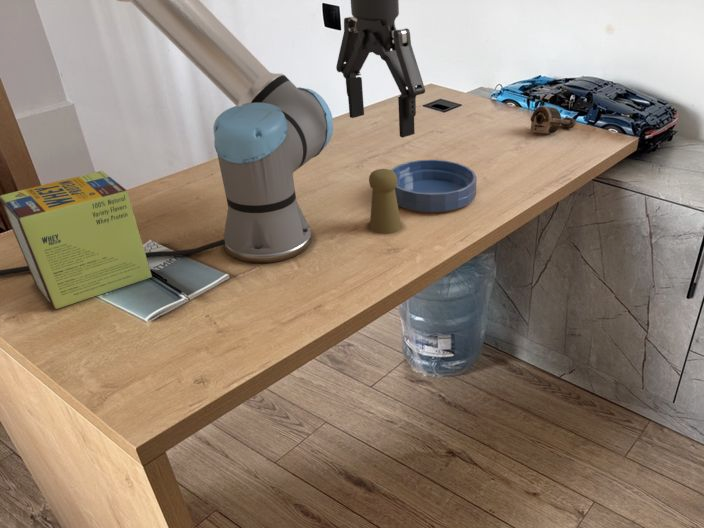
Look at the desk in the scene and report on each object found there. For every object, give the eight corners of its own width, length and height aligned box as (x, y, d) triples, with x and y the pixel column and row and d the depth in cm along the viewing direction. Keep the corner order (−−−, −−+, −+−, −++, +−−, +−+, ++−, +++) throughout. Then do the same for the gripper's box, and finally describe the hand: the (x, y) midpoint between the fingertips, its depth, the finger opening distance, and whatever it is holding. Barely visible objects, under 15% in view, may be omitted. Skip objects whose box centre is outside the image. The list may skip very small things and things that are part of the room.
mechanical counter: (522, 105, 175) (536, 108, 166) (568, 98, 177) (584, 100, 168) (525, 134, 178) (539, 138, 169) (569, 126, 180) (585, 130, 172)
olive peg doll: (382, 216, 133) (379, 162, 126) (407, 224, 130) (405, 169, 124) (363, 228, 129) (359, 172, 122) (388, 236, 126) (386, 180, 120)
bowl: (429, 224, 131) (429, 202, 128) (370, 195, 141) (369, 174, 138) (493, 197, 141) (494, 177, 139) (433, 172, 151) (433, 153, 149)
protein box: (154, 277, 112) (128, 189, 103) (55, 310, 103) (17, 218, 94) (128, 254, 118) (102, 169, 109) (33, 284, 109) (-4, 194, 100)
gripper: (447, -2, 100) (446, 138, 113) (344, -23, 114) (353, 104, 127) (409, 3, 96) (413, 149, 109) (307, -19, 110) (321, 113, 123)
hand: (381, 125), depth 118 cm, fingers open, 13 cm apart
